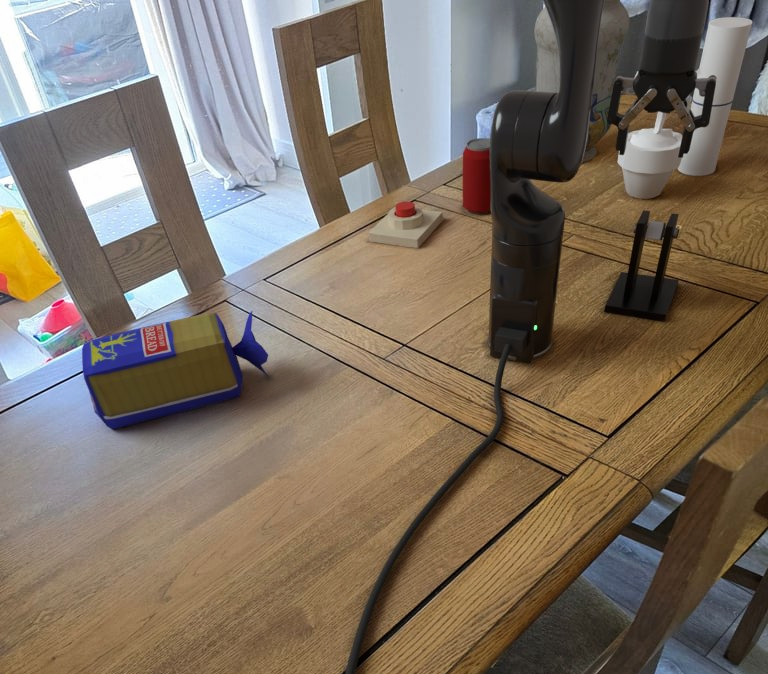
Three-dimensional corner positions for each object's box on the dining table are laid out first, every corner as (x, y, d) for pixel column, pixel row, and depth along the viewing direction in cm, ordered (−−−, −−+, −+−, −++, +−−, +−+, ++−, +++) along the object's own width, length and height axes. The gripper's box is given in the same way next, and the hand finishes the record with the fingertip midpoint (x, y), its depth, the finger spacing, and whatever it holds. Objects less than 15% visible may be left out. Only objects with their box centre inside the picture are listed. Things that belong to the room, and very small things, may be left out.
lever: (644, 238, 113) (647, 222, 112) (676, 242, 111) (680, 226, 110) (634, 237, 101) (638, 219, 101) (670, 241, 100) (675, 223, 99)
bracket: (620, 278, 114) (634, 199, 105) (677, 286, 111) (697, 206, 102) (604, 312, 108) (617, 231, 98) (664, 321, 104) (684, 239, 95)
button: (410, 220, 129) (409, 210, 127) (392, 217, 130) (392, 208, 129) (418, 211, 131) (417, 202, 129) (400, 209, 132) (400, 200, 131)
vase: (622, 145, 153) (648, -24, 132) (592, 175, 144) (616, -2, 122) (545, 135, 161) (558, -26, 139) (512, 163, 151) (521, -6, 129)
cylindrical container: (677, 175, 140) (709, 27, 122) (677, 161, 145) (708, 17, 127) (715, 176, 138) (753, 26, 120) (714, 162, 143) (751, 16, 125)
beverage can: (496, 200, 139) (499, 135, 130) (497, 215, 134) (499, 149, 125) (462, 201, 140) (463, 137, 131) (462, 216, 135) (462, 150, 126)
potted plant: (687, 196, 133) (723, 43, 115) (636, 210, 131) (664, 56, 113) (646, 175, 141) (674, 29, 123) (597, 188, 139) (618, 40, 121)
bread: (100, 397, 103) (72, 336, 95) (264, 357, 106) (249, 295, 99) (102, 438, 96) (72, 376, 88) (277, 393, 100) (262, 330, 92)
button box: (417, 248, 127) (417, 229, 125) (369, 241, 131) (367, 223, 128) (442, 220, 134) (442, 202, 132) (396, 214, 138) (394, 196, 135)
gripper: (616, 37, 94) (599, 162, 106) (729, 36, 90) (699, 166, 102) (623, 21, 98) (606, 143, 110) (732, 20, 94) (702, 147, 106)
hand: (651, 154), depth 106 cm, fingers open, 8 cm apart
